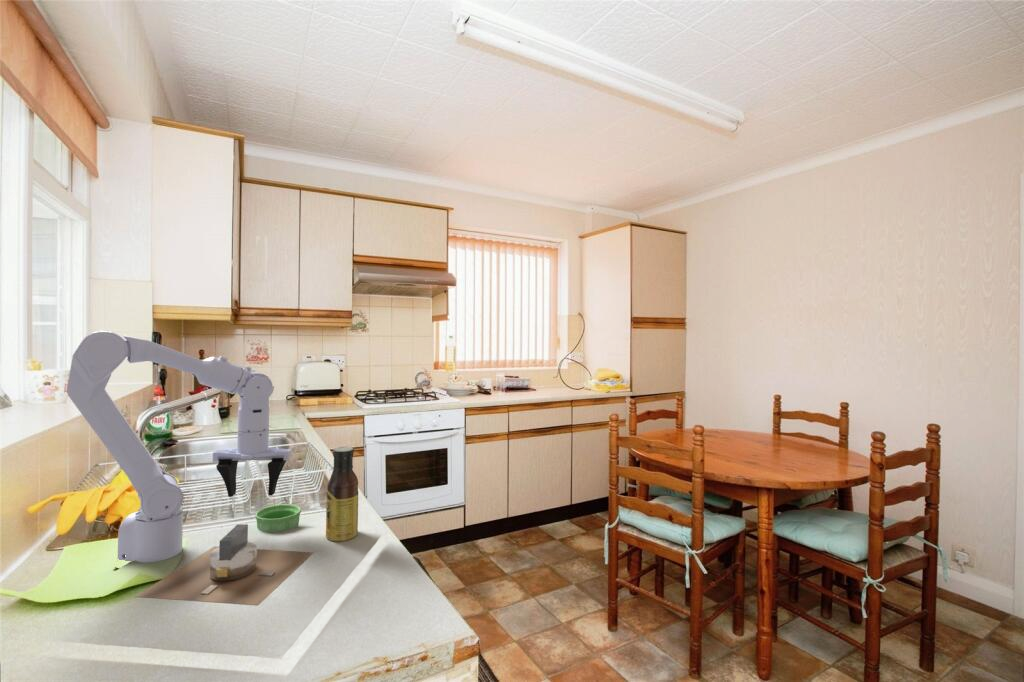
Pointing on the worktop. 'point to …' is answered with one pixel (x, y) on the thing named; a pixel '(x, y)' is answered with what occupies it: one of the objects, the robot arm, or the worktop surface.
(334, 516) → the sauce bottle
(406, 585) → the worktop surface
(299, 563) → the baseplate
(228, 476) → the robot arm
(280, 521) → the ramekin
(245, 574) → the silver rounded piece
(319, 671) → the worktop surface
